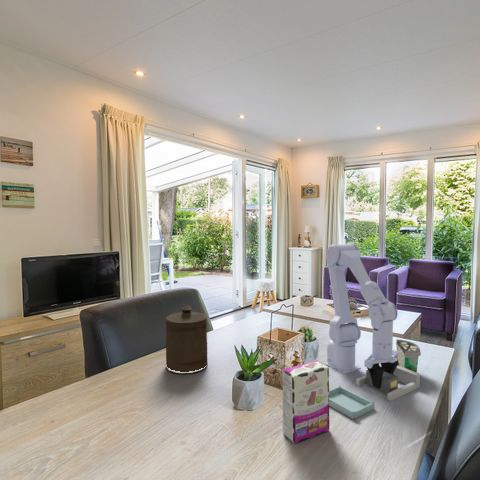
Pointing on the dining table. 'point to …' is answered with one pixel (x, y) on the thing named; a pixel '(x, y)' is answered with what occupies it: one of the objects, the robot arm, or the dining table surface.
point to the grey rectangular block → (384, 382)
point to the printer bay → (403, 376)
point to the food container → (408, 354)
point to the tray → (349, 402)
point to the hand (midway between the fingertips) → (381, 384)
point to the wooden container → (186, 340)
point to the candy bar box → (305, 401)
